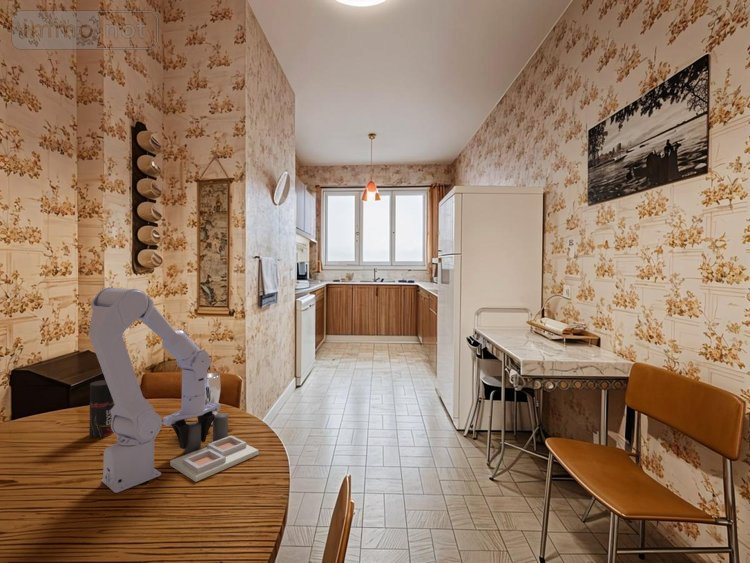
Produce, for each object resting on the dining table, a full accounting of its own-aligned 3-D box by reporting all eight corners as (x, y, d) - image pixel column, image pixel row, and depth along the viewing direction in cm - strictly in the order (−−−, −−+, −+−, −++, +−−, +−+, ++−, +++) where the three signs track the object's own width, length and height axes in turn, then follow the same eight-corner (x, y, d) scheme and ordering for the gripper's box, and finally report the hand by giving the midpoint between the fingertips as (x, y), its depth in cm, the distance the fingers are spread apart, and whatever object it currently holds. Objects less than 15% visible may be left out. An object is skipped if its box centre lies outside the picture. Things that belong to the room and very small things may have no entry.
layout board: (195, 482, 85) (195, 471, 85) (170, 465, 93) (170, 455, 93) (258, 454, 99) (258, 445, 99) (232, 441, 106) (232, 433, 106)
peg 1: (189, 455, 98) (189, 428, 98) (181, 450, 100) (181, 424, 100) (203, 449, 101) (204, 424, 101) (196, 445, 103) (196, 420, 103)
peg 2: (217, 444, 104) (218, 419, 104) (209, 440, 107) (210, 416, 107) (230, 439, 108) (231, 415, 107) (222, 436, 110) (223, 412, 110)
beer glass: (203, 428, 115) (204, 379, 115) (191, 422, 119) (192, 375, 119) (224, 421, 121) (225, 375, 120) (212, 416, 125) (213, 371, 125)
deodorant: (104, 438, 106) (105, 385, 106) (83, 437, 107) (84, 385, 106) (119, 430, 112) (119, 380, 112) (99, 429, 112) (100, 379, 112)
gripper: (210, 385, 109) (210, 431, 109) (158, 397, 97) (157, 449, 97) (224, 389, 105) (223, 438, 105) (171, 403, 93) (170, 457, 93)
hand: (192, 444), depth 101 cm, fingers open, 5 cm apart
